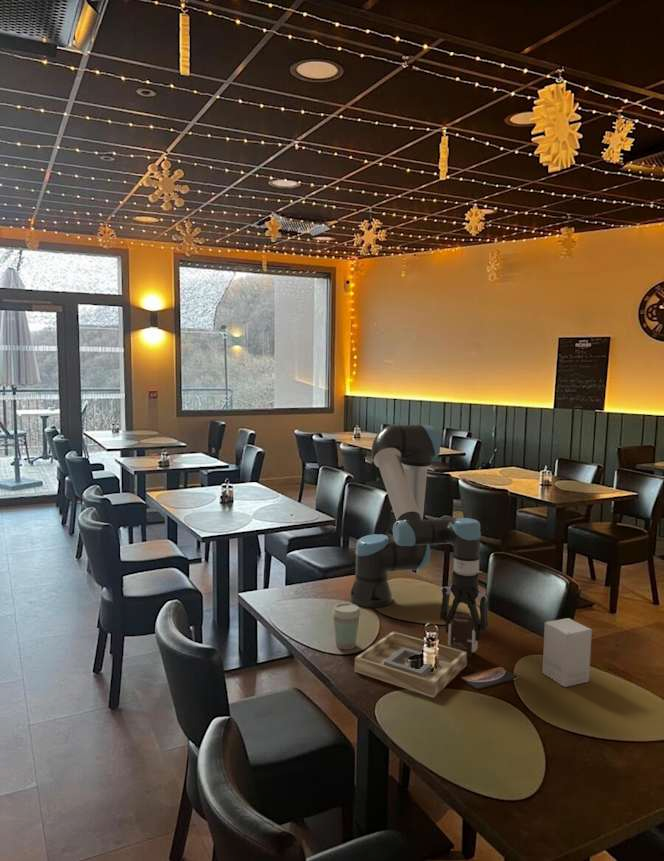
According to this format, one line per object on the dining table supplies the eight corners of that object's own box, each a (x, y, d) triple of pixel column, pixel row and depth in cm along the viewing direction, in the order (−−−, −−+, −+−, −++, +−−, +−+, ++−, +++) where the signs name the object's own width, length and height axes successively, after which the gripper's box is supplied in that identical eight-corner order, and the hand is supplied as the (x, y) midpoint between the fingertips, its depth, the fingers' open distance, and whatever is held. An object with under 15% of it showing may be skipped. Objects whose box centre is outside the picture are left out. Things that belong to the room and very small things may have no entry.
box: (451, 655, 189) (452, 615, 187) (453, 648, 193) (454, 610, 192) (472, 658, 187) (473, 618, 186) (473, 651, 191) (475, 613, 190)
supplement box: (590, 682, 174) (593, 629, 172) (564, 688, 170) (567, 634, 169) (566, 667, 182) (569, 617, 181) (541, 672, 179) (543, 621, 177)
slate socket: (402, 653, 188) (402, 647, 188) (438, 664, 181) (438, 657, 181) (383, 668, 178) (383, 661, 178) (420, 680, 172) (420, 673, 172)
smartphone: (458, 677, 175) (500, 665, 182) (458, 680, 175) (500, 668, 182) (477, 688, 168) (519, 676, 175) (477, 692, 168) (519, 679, 175)
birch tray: (392, 643, 196) (392, 631, 195) (466, 665, 182) (467, 652, 182) (354, 671, 178) (354, 657, 177) (433, 697, 164) (434, 683, 164)
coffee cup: (360, 640, 198) (361, 602, 197) (358, 652, 189) (359, 613, 188) (333, 638, 199) (333, 601, 197) (330, 650, 190) (330, 612, 189)
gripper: (429, 568, 190) (426, 642, 192) (493, 582, 179) (490, 660, 181) (440, 562, 196) (437, 634, 198) (502, 575, 185) (499, 651, 187)
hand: (462, 646), depth 190 cm, fingers closed on box, 7 cm apart
